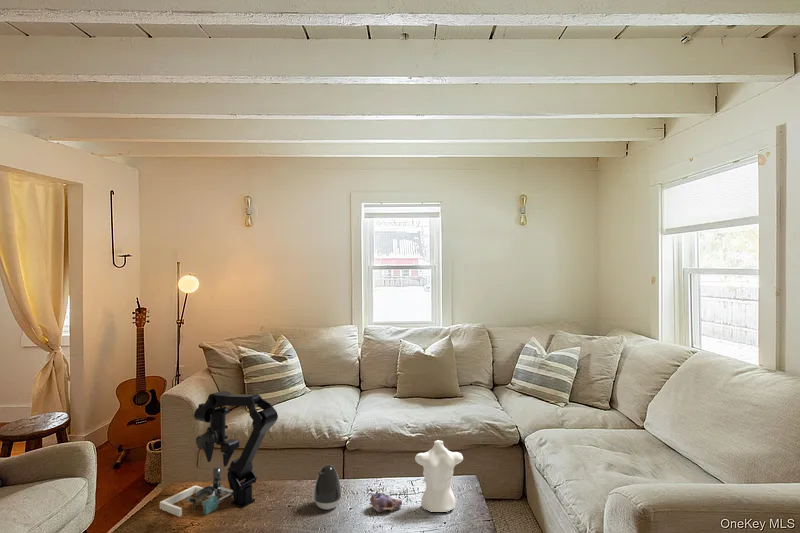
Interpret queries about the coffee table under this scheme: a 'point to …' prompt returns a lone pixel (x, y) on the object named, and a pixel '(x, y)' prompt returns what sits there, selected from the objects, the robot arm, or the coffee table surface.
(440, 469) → the torso sculpture
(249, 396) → the robot arm
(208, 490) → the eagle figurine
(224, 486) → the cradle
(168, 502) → the frame
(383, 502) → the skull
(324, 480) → the grey rounded egg shape
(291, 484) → the coffee table surface
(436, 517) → the coffee table surface
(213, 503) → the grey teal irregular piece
